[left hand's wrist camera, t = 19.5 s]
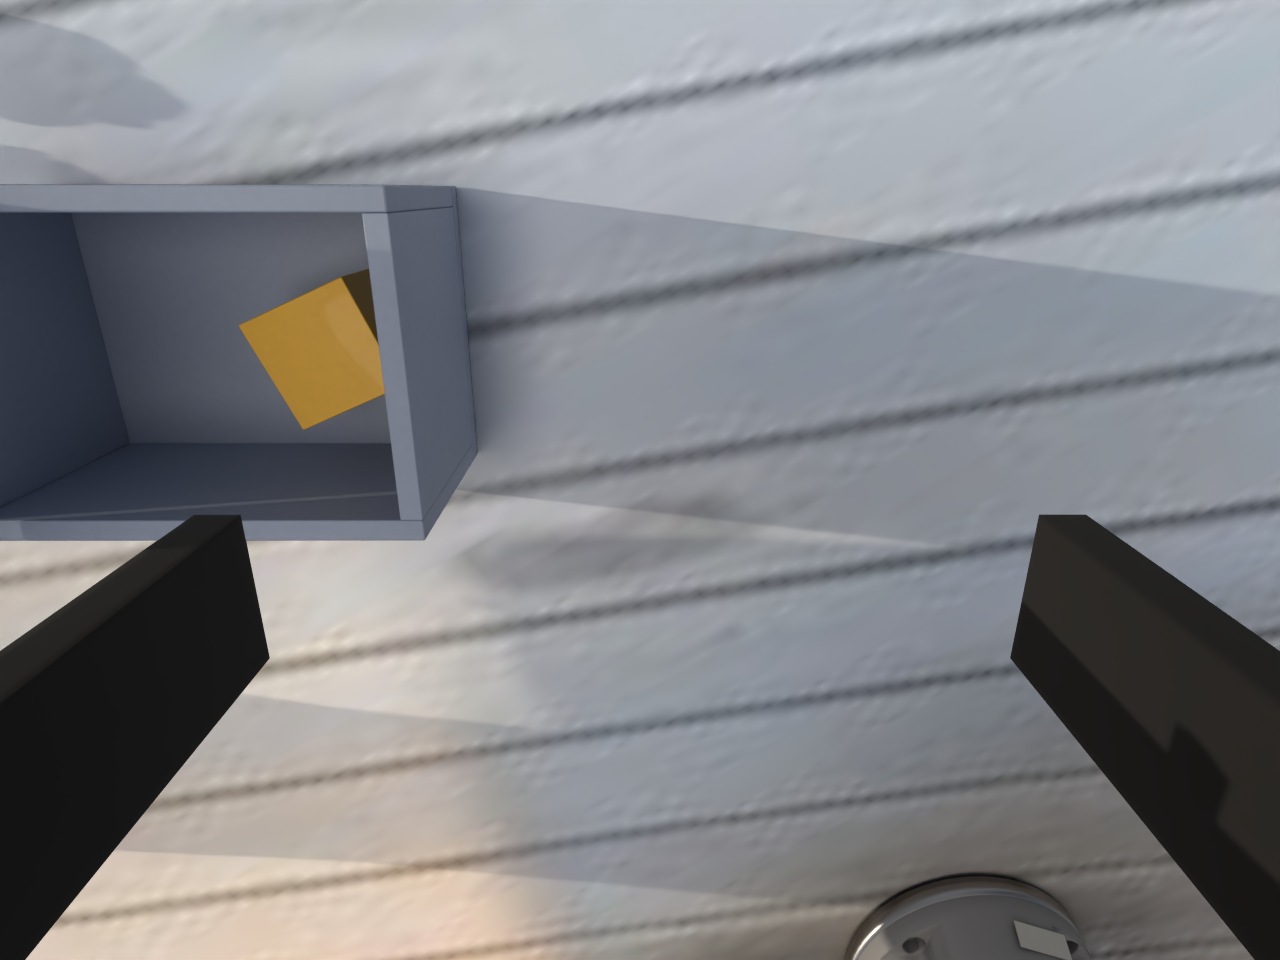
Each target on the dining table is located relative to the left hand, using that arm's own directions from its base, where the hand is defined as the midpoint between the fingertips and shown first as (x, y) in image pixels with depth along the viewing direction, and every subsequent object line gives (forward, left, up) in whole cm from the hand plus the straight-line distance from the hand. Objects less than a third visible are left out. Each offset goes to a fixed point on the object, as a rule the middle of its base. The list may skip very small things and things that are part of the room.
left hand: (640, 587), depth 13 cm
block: (0, +13, -23) cm, 26 cm away
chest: (0, +17, -24) cm, 29 cm away
